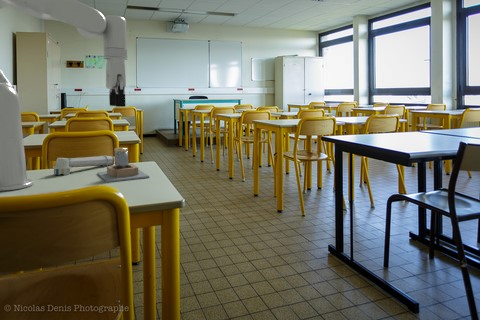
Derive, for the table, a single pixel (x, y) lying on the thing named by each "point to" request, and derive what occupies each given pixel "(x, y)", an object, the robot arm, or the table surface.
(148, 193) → the table surface
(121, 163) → the grey and brass cylinder
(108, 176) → the socket block
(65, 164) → the white long slender part
